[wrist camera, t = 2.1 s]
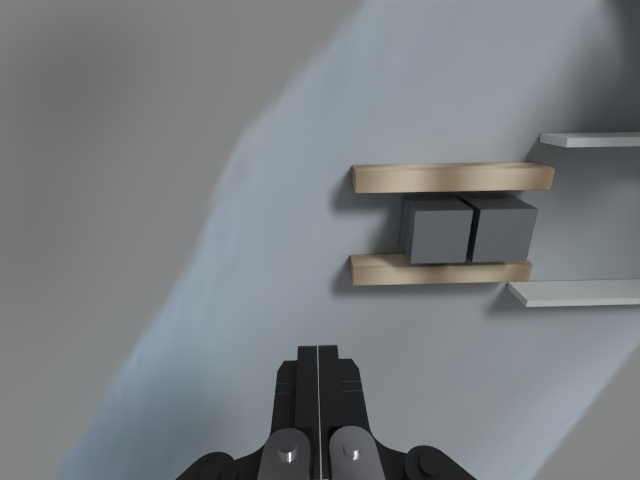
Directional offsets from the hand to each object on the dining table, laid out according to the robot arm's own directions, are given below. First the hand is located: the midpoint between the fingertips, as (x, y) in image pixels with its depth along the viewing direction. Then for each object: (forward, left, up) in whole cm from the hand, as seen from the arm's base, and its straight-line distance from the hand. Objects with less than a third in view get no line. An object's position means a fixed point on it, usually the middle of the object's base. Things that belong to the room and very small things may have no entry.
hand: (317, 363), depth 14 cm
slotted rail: (-10, 0, -16) cm, 19 cm away
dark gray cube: (-14, 0, -16) cm, 21 cm away
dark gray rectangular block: (-9, 0, -16) cm, 19 cm away
